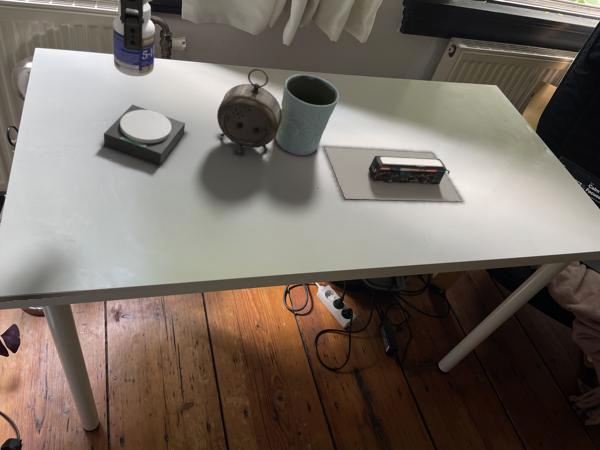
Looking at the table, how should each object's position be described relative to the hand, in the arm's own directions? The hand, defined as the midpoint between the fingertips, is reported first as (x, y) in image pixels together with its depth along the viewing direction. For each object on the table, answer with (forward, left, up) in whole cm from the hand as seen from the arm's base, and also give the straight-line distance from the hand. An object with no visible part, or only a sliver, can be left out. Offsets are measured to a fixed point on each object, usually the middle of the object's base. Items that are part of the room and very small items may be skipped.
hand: (134, 37), depth 66 cm
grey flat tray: (+43, -23, -22) cm, 53 cm away
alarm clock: (+20, -4, -22) cm, 30 cm away
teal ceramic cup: (+31, -7, -22) cm, 39 cm away
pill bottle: (0, 0, -5) cm, 5 cm away
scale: (+5, +5, -22) cm, 23 cm away
